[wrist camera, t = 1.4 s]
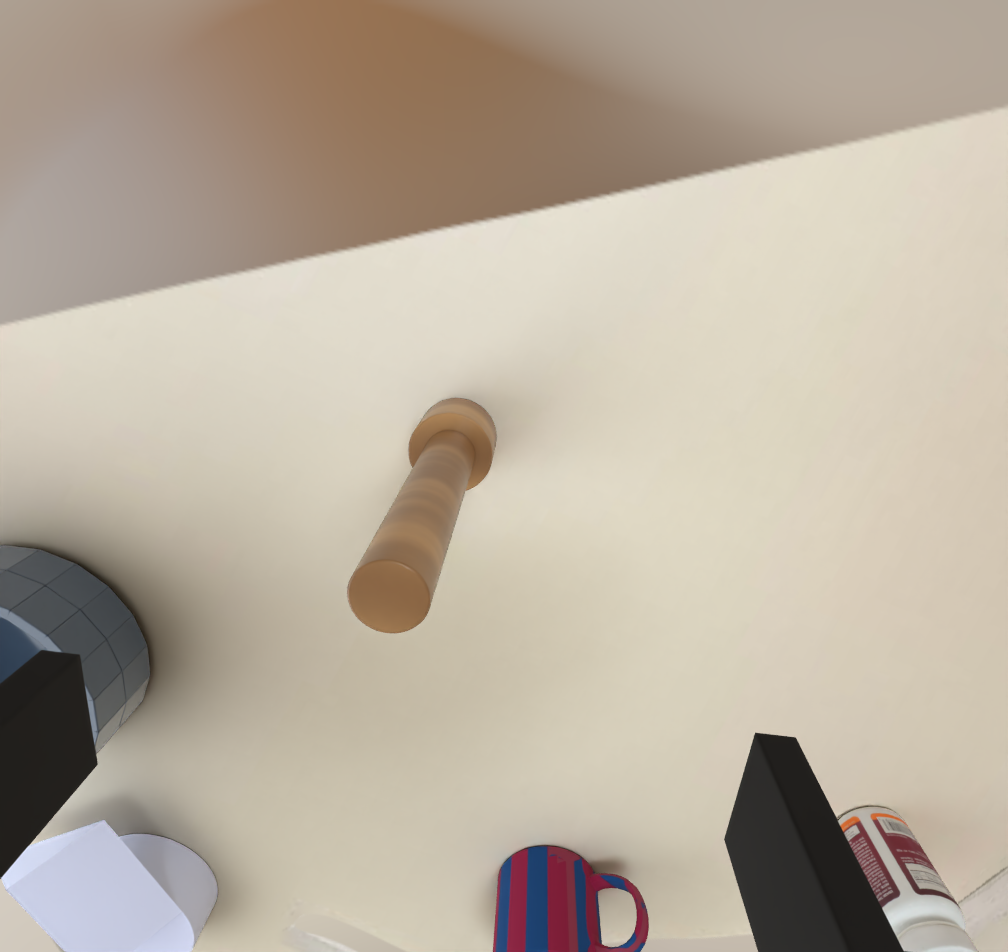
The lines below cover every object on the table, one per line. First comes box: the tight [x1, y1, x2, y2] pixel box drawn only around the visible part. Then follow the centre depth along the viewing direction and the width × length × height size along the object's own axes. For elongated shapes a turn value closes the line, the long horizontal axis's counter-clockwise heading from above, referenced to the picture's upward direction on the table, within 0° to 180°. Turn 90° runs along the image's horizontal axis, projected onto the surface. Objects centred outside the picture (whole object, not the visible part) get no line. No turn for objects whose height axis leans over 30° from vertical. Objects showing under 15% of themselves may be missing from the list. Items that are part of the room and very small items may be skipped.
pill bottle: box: [838, 807, 978, 952], centre depth 37 cm, size 5×5×8 cm
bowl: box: [0, 545, 150, 754], centre depth 37 cm, size 13×13×6 cm
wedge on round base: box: [1, 820, 218, 952], centre depth 42 cm, size 9×7×13 cm
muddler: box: [347, 398, 497, 633], centre depth 26 cm, size 4×4×16 cm
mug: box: [493, 846, 649, 952], centre depth 40 cm, size 7×10×7 cm
